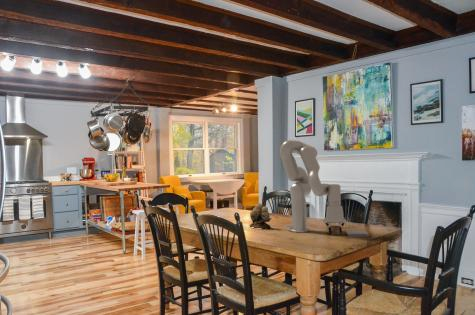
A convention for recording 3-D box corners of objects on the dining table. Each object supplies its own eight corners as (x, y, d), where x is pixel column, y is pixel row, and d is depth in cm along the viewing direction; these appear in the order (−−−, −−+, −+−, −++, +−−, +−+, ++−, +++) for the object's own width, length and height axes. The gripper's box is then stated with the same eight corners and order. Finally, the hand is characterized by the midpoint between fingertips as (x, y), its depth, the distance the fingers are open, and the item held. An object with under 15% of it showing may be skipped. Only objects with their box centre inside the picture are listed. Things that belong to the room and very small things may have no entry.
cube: (331, 235, 230) (331, 226, 230) (330, 233, 235) (330, 225, 235) (339, 235, 229) (339, 226, 229) (338, 233, 234) (338, 225, 234)
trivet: (348, 236, 224) (348, 233, 224) (345, 232, 235) (345, 230, 235) (369, 237, 221) (368, 234, 222) (365, 233, 233) (365, 230, 233)
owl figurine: (275, 227, 259) (275, 203, 259) (265, 230, 250) (265, 205, 250) (255, 225, 271) (255, 201, 271) (245, 227, 262) (244, 203, 262)
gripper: (320, 204, 230) (321, 234, 230) (349, 204, 227) (350, 234, 227) (320, 203, 237) (320, 232, 237) (348, 203, 234) (348, 232, 234)
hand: (335, 233), depth 232 cm, fingers closed on cube, 5 cm apart
